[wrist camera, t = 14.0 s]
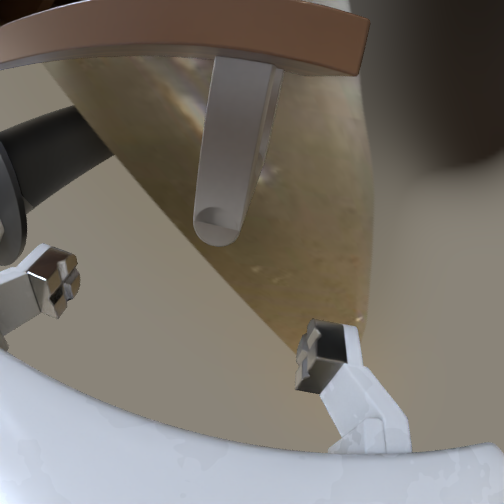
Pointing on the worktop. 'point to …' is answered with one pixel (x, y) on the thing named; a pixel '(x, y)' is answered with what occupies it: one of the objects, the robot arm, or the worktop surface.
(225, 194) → the cupboard door
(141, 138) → the worktop surface
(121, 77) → the worktop surface
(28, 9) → the cupboard
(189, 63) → the worktop surface
